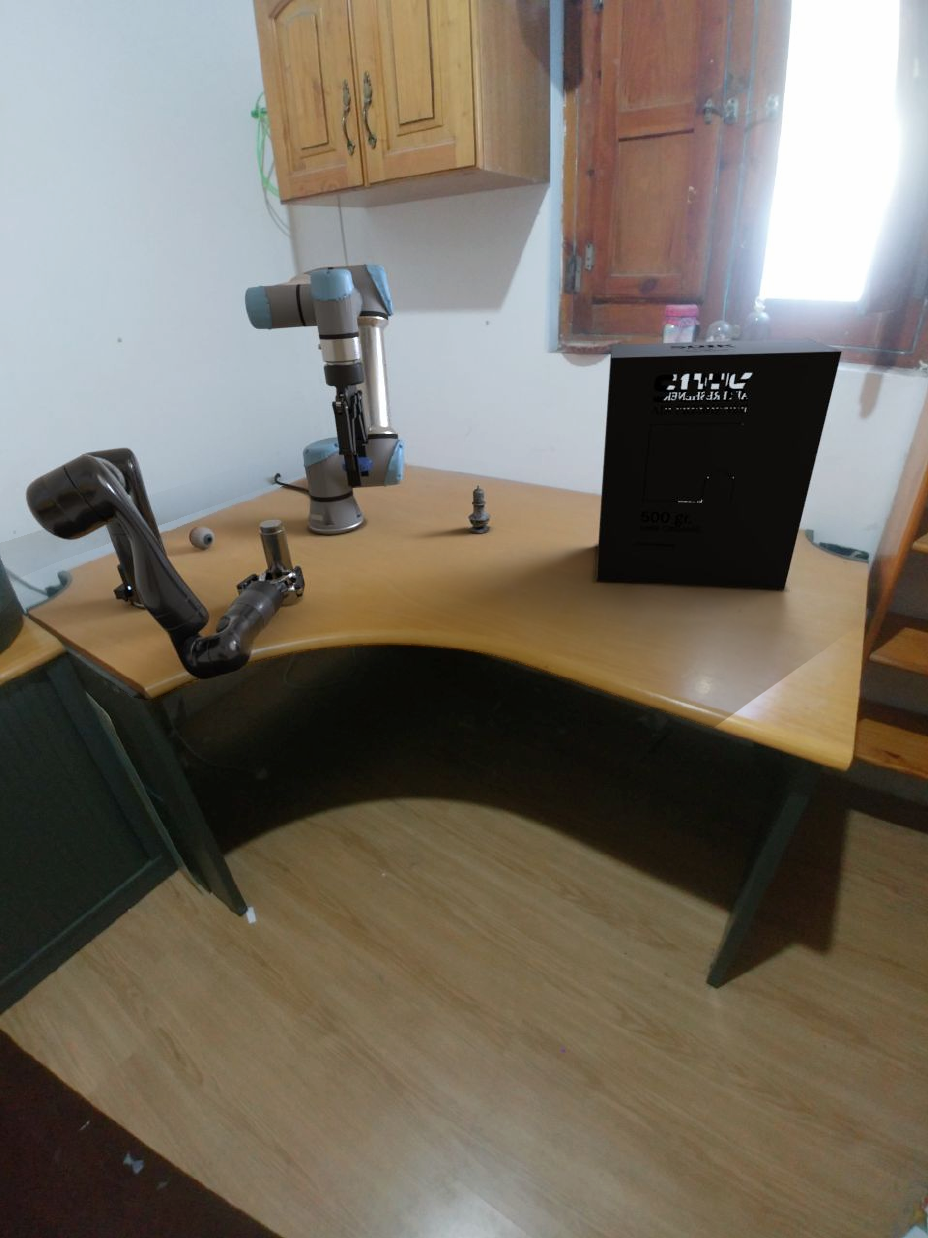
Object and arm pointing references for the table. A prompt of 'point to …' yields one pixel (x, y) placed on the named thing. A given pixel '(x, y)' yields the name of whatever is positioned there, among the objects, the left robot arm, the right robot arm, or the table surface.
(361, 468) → the lid
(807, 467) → the cardboard box
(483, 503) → the grey tall turned piece
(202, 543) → the eyeball
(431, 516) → the table surface
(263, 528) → the bottle
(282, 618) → the table surface
